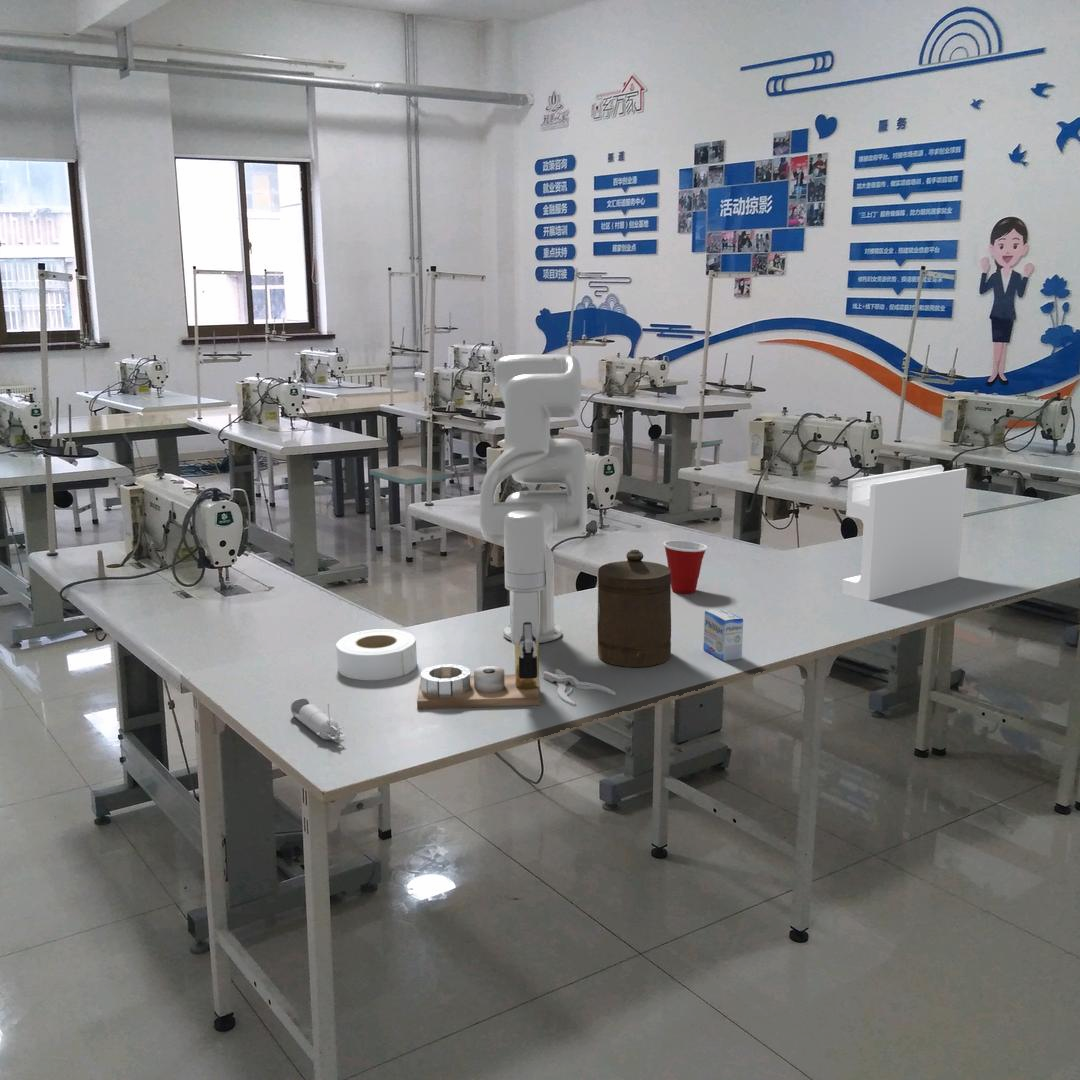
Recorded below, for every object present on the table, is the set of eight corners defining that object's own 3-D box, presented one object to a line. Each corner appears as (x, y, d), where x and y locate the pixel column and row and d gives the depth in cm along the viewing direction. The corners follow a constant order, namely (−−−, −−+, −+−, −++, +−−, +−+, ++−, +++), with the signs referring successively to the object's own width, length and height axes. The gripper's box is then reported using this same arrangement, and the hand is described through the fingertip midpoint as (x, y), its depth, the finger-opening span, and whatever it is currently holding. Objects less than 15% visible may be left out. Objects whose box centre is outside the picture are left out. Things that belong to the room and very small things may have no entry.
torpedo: (284, 717, 188) (281, 682, 187) (309, 711, 191) (306, 677, 189) (327, 752, 174) (325, 714, 172) (353, 744, 177) (351, 707, 175)
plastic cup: (713, 595, 259) (714, 547, 256) (671, 598, 256) (672, 550, 254) (696, 583, 269) (697, 537, 266) (656, 586, 267) (656, 540, 264)
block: (868, 600, 252) (875, 484, 246) (841, 593, 259) (847, 479, 253) (958, 577, 272) (967, 468, 265) (931, 570, 278) (939, 464, 272)
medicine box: (702, 650, 220) (703, 610, 218) (721, 647, 221) (722, 607, 219) (723, 662, 213) (724, 620, 211) (742, 658, 214) (743, 617, 212)
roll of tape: (385, 686, 202) (384, 658, 201) (321, 673, 210) (319, 646, 209) (433, 661, 216) (432, 635, 214) (371, 649, 223) (369, 624, 222)
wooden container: (631, 639, 227) (632, 538, 222) (685, 655, 217) (687, 550, 212) (582, 655, 217) (582, 551, 212) (636, 673, 207) (637, 564, 202)
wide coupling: (422, 680, 201) (422, 664, 200) (470, 678, 201) (470, 663, 200) (420, 697, 192) (419, 682, 191) (470, 696, 192) (469, 680, 192)
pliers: (572, 699, 191) (528, 675, 203) (572, 707, 191) (528, 682, 204) (617, 688, 196) (571, 665, 208) (616, 696, 196) (571, 672, 209)
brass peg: (515, 681, 199) (514, 640, 197) (538, 680, 199) (538, 640, 198) (515, 690, 195) (515, 648, 193) (539, 689, 195) (539, 647, 193)
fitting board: (421, 684, 202) (420, 661, 201) (536, 681, 203) (536, 658, 202) (417, 708, 191) (416, 684, 190) (540, 705, 192) (539, 680, 191)
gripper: (503, 567, 201) (505, 653, 205) (505, 592, 184) (507, 686, 188) (543, 566, 201) (544, 652, 205) (549, 591, 184) (550, 684, 188)
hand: (527, 668), depth 196 cm, fingers open, 9 cm apart
